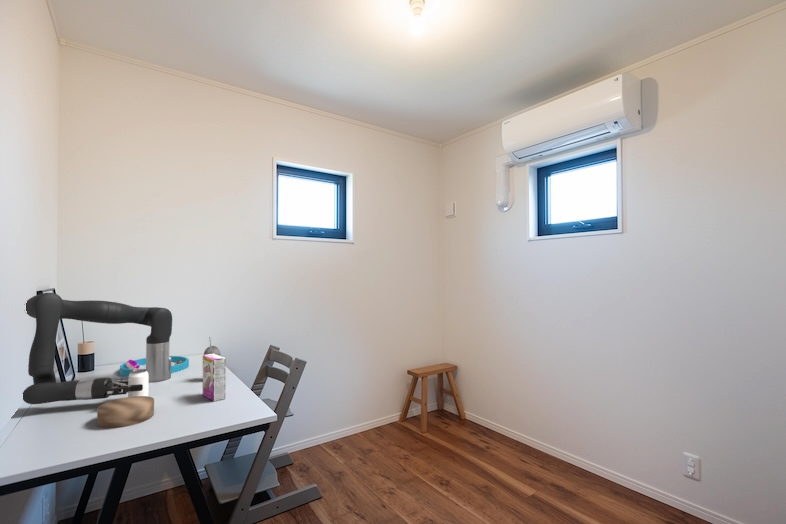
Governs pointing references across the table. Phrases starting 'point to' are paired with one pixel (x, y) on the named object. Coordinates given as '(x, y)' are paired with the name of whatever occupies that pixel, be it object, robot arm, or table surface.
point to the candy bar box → (214, 377)
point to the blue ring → (135, 364)
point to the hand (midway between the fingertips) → (145, 384)
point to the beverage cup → (212, 350)
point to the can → (138, 382)
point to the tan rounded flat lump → (125, 411)
